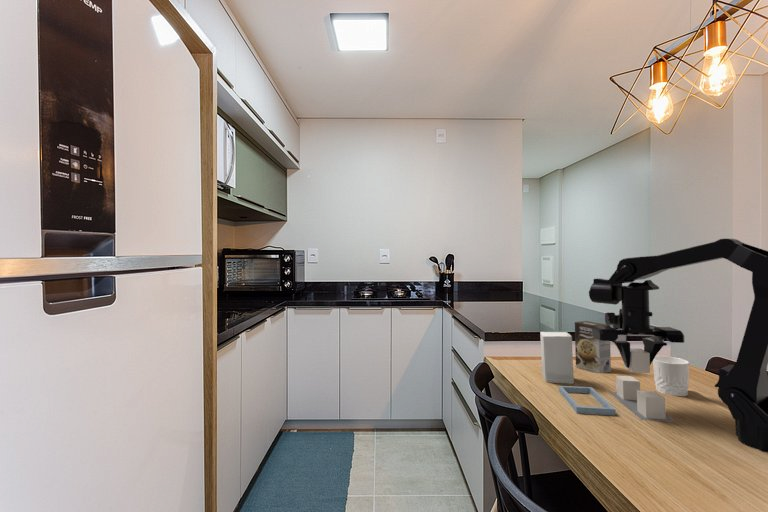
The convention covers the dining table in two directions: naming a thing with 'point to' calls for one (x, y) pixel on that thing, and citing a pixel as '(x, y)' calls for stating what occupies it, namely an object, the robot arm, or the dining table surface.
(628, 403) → the slate board
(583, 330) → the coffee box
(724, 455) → the dining table surface
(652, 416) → the stone
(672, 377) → the white cup
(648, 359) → the stone
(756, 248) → the robot arm
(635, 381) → the stone
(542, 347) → the skincare box
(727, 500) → the dining table surface
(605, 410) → the blue bin
